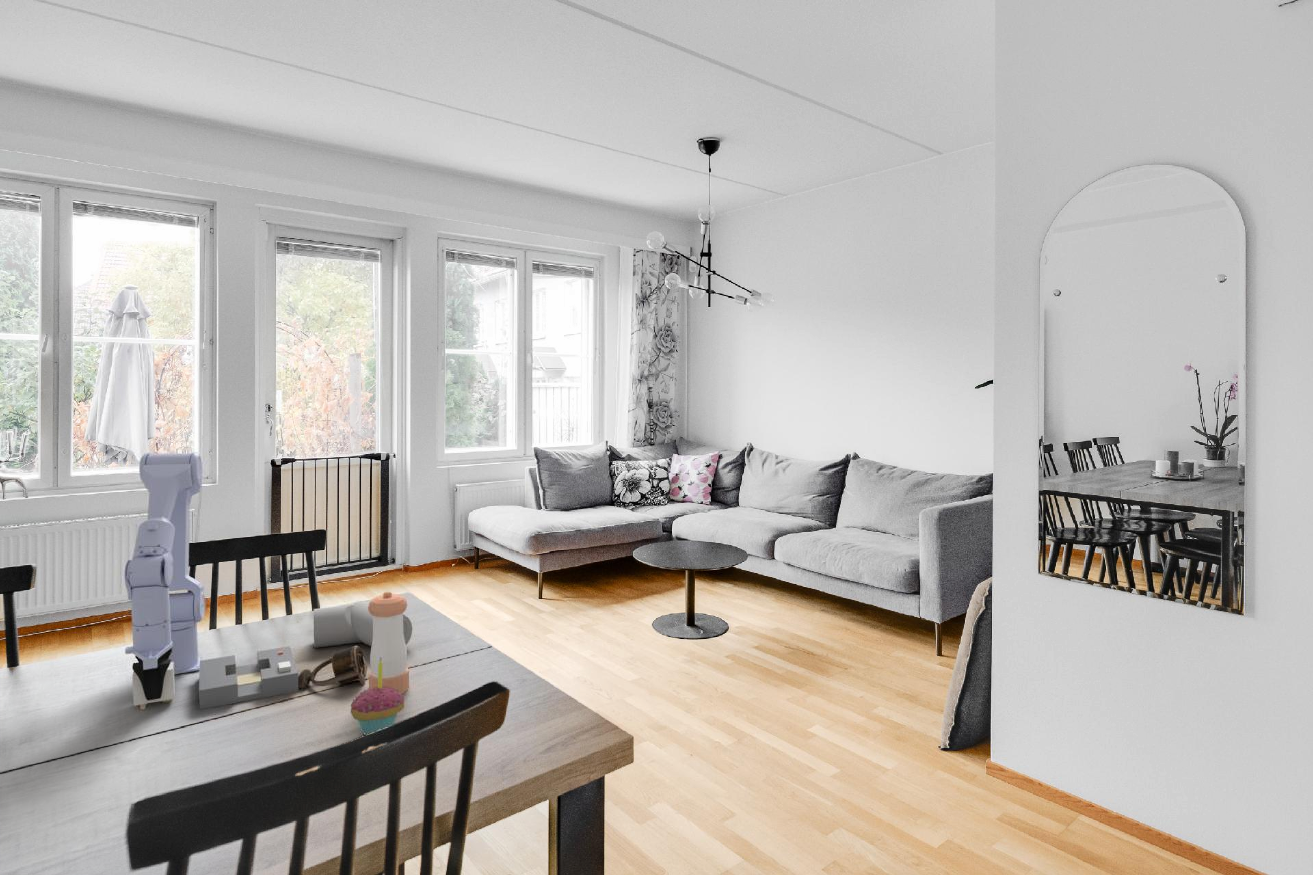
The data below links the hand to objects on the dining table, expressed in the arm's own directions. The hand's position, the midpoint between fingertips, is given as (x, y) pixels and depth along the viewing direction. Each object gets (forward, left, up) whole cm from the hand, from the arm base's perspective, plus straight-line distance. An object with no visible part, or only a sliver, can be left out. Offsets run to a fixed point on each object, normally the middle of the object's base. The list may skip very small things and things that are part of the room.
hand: (154, 693), depth 134 cm
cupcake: (+31, +33, -2) cm, 45 cm away
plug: (0, 0, -2) cm, 2 cm away
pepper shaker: (+15, +38, -2) cm, 41 cm away
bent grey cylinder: (-12, +38, -2) cm, 40 cm away
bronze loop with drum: (+6, +30, -2) cm, 30 cm away
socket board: (-1, +15, -2) cm, 15 cm away
